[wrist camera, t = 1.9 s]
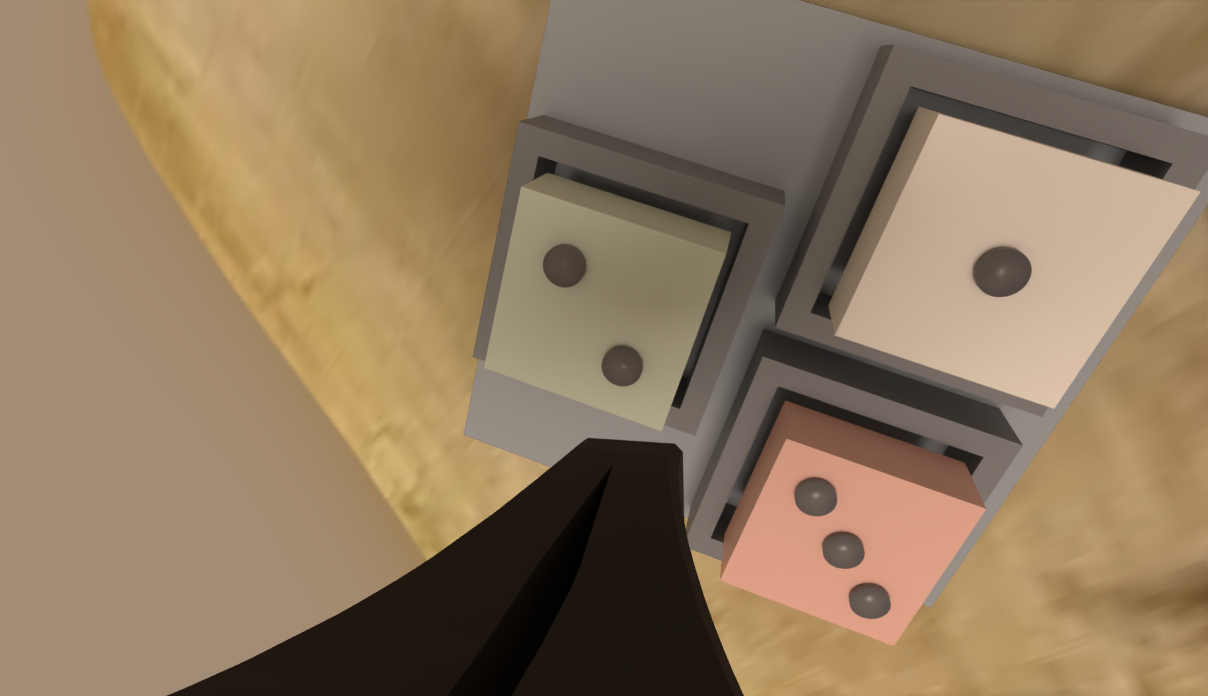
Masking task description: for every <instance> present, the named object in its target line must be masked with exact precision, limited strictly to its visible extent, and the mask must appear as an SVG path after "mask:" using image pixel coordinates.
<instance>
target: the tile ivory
mask: <svg viewBox="0 0 1208 696" xmlns="http://www.w3.org/2000/svg"><path fill="white" fill-rule="evenodd" d="M1199 194H1200V191H1197V190H1194V189H1191V188H1188V187H1185V186H1181V185H1178V184H1175V183H1172V182H1169V181H1166V180H1163V179H1160V178H1157V177H1154V176H1151V175H1147V174H1144V173H1141V172H1137V171H1134V170H1131V169H1127V168H1124V167H1121V166H1117V165H1114V164H1111V163H1107V162H1104V161H1100V160H1097V159H1094V158H1090V157H1087V156H1084V155H1080V154H1077V153H1074V152H1070V151H1067V150H1063V149H1060V148H1057V147H1053V146H1050V145H1047V144H1043V143H1040V142H1037V141H1033V140H1030V139H1026V138H1023V137H1020V136H1016V135H1013V134H1010V133H1006V132H1003V131H1000V130H996V129H993V128H990V127H986V126H983V125H979V124H976V123H973V122H969V121H966V120H963V119H959V118H956V117H953V116H949V115H946V114H942V113H939V112H936V111H932V110H929V109H926V108H922V107H918V109H917V111H916V114H915V116H914V118H913V120H912V122H911V125H910V127H909V129H908V131H907V133H906V136H905V138H904V140H903V142H902V144H901V147H900V149H899V151H898V153H897V155H896V158H895V160H894V162H893V164H892V166H891V169H890V171H889V173H888V175H887V177H886V180H885V182H884V184H883V186H882V188H881V191H880V193H879V195H878V197H877V199H876V202H875V204H874V206H873V208H872V210H871V213H870V215H869V217H868V219H867V221H866V224H865V226H864V228H863V230H862V232H861V235H860V237H859V239H858V241H857V244H856V246H855V248H854V250H853V252H852V255H851V257H850V259H849V261H848V263H847V266H846V268H845V270H844V272H843V274H842V277H841V279H840V281H839V283H838V285H837V288H836V290H835V292H834V294H833V296H832V299H831V301H830V303H829V305H828V306H829V311H830V315H831V320H832V325H833V329H834V334H835V336H838V337H841V338H844V339H847V340H850V341H853V342H856V343H859V344H862V345H865V346H868V347H871V348H874V349H877V350H880V351H883V352H886V353H889V354H892V355H895V356H898V357H901V358H904V359H907V360H910V361H913V362H916V363H919V364H922V365H925V366H928V367H931V368H934V369H937V370H940V371H943V372H946V373H949V374H952V375H955V376H958V377H961V378H964V379H967V380H970V381H973V382H976V383H979V384H982V385H985V386H988V387H991V388H993V389H996V390H999V391H1002V392H1005V393H1008V394H1011V395H1014V396H1017V397H1020V398H1023V399H1026V400H1029V401H1032V402H1035V403H1038V404H1041V405H1044V406H1047V407H1050V408H1053V409H1054V408H1055V407H1056V405H1057V404H1058V402H1059V401H1060V399H1061V398H1062V396H1063V395H1064V393H1065V392H1066V390H1067V389H1068V387H1069V386H1070V385H1071V383H1072V382H1073V380H1074V379H1075V377H1076V376H1077V374H1078V373H1079V371H1080V370H1081V368H1082V367H1083V365H1084V364H1085V362H1086V361H1087V359H1088V358H1089V356H1090V355H1091V353H1092V352H1093V350H1094V349H1095V348H1096V346H1097V345H1098V343H1099V342H1100V340H1101V339H1102V337H1103V336H1104V334H1105V333H1106V331H1107V330H1108V328H1109V327H1110V325H1111V324H1112V322H1113V321H1114V319H1115V318H1116V316H1117V315H1118V313H1119V312H1120V310H1121V309H1122V308H1123V306H1124V305H1125V303H1126V302H1127V300H1128V299H1129V297H1130V296H1131V294H1132V293H1133V291H1134V290H1135V288H1136V287H1137V285H1138V284H1139V282H1140V281H1141V279H1142V278H1143V276H1144V275H1145V273H1146V272H1147V271H1148V269H1149V268H1150V266H1151V265H1152V263H1153V262H1154V260H1155V259H1156V257H1157V256H1158V254H1159V253H1160V251H1161V250H1162V248H1163V247H1164V245H1165V244H1166V242H1167V241H1168V239H1169V238H1170V236H1171V235H1172V233H1173V232H1174V231H1175V229H1176V228H1177V226H1178V225H1179V223H1180V222H1181V220H1182V219H1183V217H1184V216H1185V214H1186V213H1187V211H1188V210H1189V208H1190V207H1191V205H1192V204H1193V202H1194V201H1195V199H1196V198H1197V196H1198V195H1199Z"/></svg>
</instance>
